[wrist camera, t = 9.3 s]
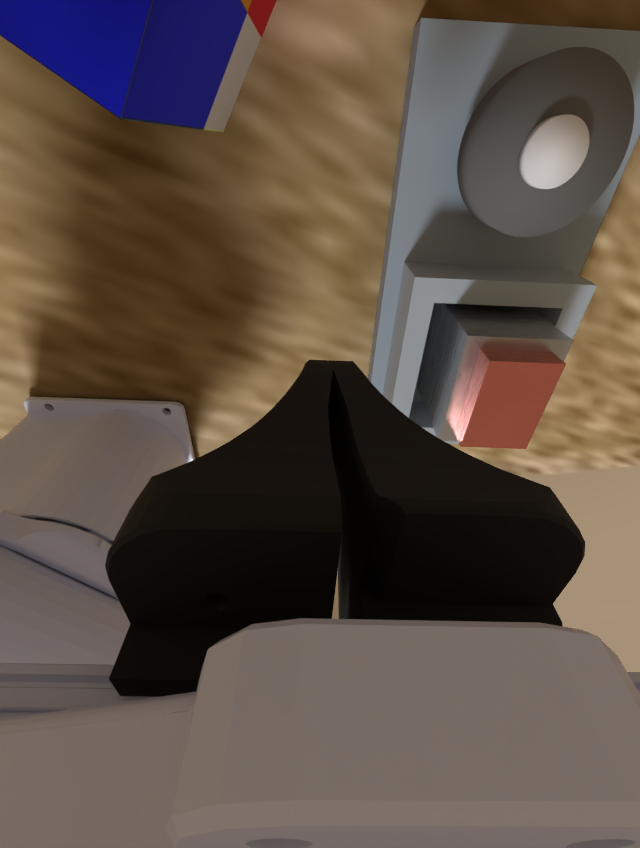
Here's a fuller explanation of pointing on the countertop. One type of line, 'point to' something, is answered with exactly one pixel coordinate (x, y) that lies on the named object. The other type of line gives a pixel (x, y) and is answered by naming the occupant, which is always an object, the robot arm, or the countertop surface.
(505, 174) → the wheel
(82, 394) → the countertop surface
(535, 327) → the red and grey block
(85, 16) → the puzzle toy
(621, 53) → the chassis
